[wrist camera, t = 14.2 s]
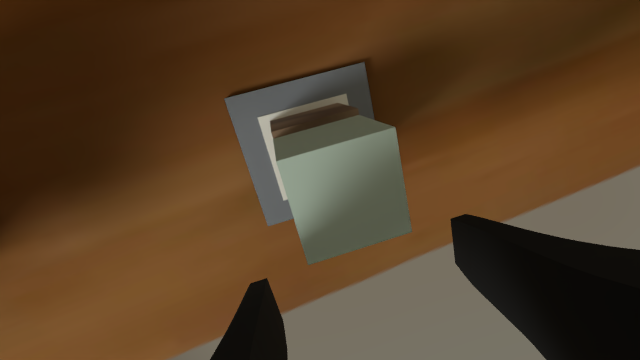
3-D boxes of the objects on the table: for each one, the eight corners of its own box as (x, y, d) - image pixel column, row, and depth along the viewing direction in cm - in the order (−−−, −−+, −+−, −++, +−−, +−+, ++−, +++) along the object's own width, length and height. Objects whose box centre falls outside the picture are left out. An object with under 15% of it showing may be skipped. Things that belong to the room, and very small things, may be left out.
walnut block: (289, 185, 18) (295, 212, 14) (269, 120, 17) (271, 132, 13) (351, 167, 18) (373, 188, 15) (337, 102, 17) (358, 108, 13)
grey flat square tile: (268, 221, 19) (268, 226, 19) (225, 98, 17) (224, 98, 16) (383, 187, 20) (387, 190, 19) (361, 62, 17) (364, 61, 17)
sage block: (297, 217, 14) (308, 264, 11) (273, 138, 13) (275, 161, 9) (374, 194, 15) (411, 231, 11) (358, 114, 13) (395, 127, 10)
